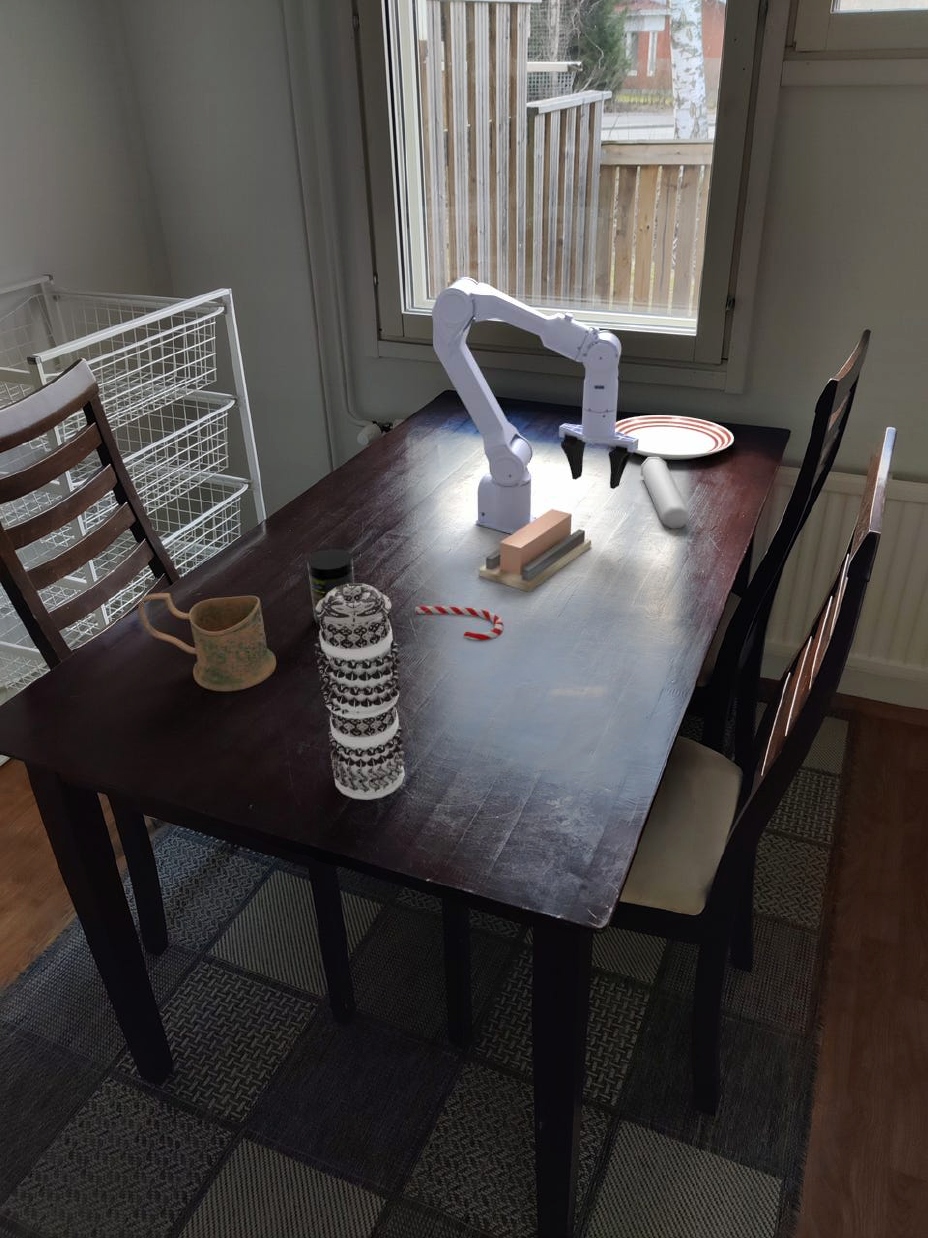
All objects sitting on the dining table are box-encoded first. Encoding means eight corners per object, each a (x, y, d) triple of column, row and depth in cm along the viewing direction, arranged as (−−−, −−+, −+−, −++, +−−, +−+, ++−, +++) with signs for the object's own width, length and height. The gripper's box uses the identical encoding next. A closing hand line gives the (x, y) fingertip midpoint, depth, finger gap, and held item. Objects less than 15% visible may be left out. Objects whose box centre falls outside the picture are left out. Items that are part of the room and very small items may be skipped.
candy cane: (423, 596, 146) (511, 614, 141) (424, 603, 147) (511, 621, 142) (401, 620, 140) (492, 639, 135) (402, 627, 141) (492, 646, 136)
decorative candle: (316, 792, 108) (291, 608, 95) (352, 745, 116) (333, 568, 103) (387, 810, 105) (371, 622, 92) (419, 761, 113) (408, 581, 100)
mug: (166, 646, 137) (150, 575, 131) (283, 646, 136) (273, 574, 130) (140, 691, 127) (121, 616, 121) (266, 691, 126) (254, 616, 120)
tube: (696, 511, 165) (670, 460, 186) (669, 503, 164) (646, 452, 186) (684, 537, 168) (660, 483, 189) (657, 529, 167) (636, 476, 188)
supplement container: (347, 633, 139) (340, 571, 134) (306, 626, 141) (299, 566, 135) (364, 611, 144) (359, 551, 139) (325, 605, 146) (319, 546, 141)
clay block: (500, 569, 153) (500, 542, 150) (551, 534, 164) (551, 508, 161) (520, 575, 151) (520, 548, 148) (570, 540, 162) (571, 514, 159)
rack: (478, 575, 154) (478, 558, 152) (542, 532, 168) (543, 516, 166) (529, 591, 149) (529, 574, 147) (590, 546, 162) (591, 529, 161)
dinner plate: (640, 418, 222) (641, 405, 220) (751, 439, 208) (753, 425, 206) (584, 453, 203) (585, 438, 201) (701, 478, 189) (703, 463, 187)
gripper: (550, 406, 157) (548, 480, 164) (626, 421, 150) (621, 498, 157) (572, 395, 162) (569, 468, 169) (646, 409, 155) (640, 485, 161)
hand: (595, 482), depth 163 cm, fingers open, 7 cm apart
